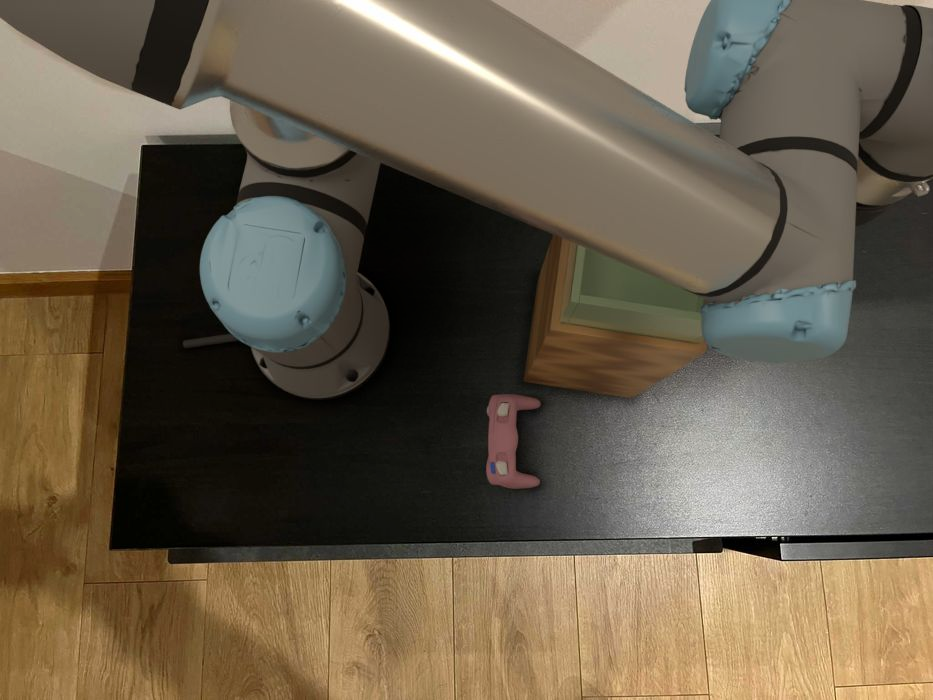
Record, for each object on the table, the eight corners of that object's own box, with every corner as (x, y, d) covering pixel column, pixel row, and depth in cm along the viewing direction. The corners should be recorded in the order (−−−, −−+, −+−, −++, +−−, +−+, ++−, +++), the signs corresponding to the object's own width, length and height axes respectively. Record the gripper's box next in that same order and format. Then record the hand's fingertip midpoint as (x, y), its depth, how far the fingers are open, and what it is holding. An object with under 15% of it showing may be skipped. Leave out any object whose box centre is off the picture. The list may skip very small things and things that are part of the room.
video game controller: (505, 399, 78) (478, 389, 72) (543, 397, 76) (519, 387, 70) (503, 489, 76) (475, 487, 70) (543, 490, 74) (518, 488, 67)
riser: (523, 381, 77) (550, 329, 53) (537, 279, 79) (569, 186, 56) (631, 398, 76) (706, 353, 53) (642, 294, 79) (718, 208, 55)
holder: (558, 323, 53) (570, 301, 47) (575, 194, 56) (589, 157, 50) (698, 344, 53) (728, 325, 47) (710, 213, 55) (739, 179, 49)
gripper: (774, 263, 49) (676, 336, 72) (1008, 149, 51) (841, 255, 74) (721, 175, 51) (640, 274, 73) (950, 68, 53) (804, 196, 75)
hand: (741, 264), depth 73 cm, fingers closed on can, 7 cm apart
